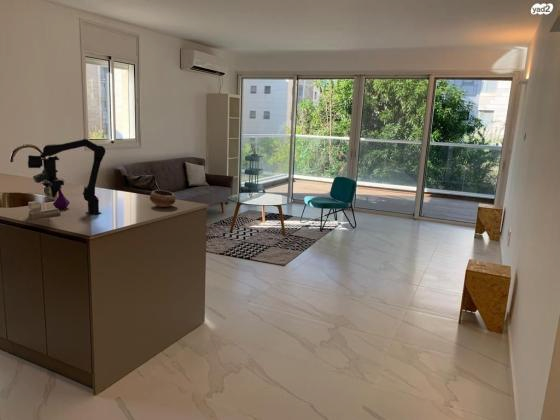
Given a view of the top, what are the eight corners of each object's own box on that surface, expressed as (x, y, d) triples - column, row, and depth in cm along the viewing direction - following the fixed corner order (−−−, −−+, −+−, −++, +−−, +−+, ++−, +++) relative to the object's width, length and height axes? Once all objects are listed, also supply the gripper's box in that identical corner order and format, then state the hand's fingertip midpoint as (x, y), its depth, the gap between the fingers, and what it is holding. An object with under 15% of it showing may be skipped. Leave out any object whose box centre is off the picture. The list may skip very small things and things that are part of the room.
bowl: (168, 210, 272) (168, 194, 270) (145, 207, 275) (145, 192, 273) (179, 205, 287) (179, 190, 285) (157, 203, 290) (157, 188, 288)
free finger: (57, 198, 241) (56, 187, 240) (49, 199, 238) (48, 188, 237) (53, 197, 244) (52, 186, 243) (45, 197, 241) (44, 187, 240)
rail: (60, 215, 244) (59, 201, 242) (33, 218, 233) (32, 203, 231) (55, 213, 247) (54, 199, 246) (28, 216, 237) (28, 202, 235)
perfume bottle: (53, 209, 255) (51, 179, 252) (56, 207, 262) (55, 177, 259) (66, 210, 257) (65, 179, 253) (70, 207, 264) (69, 177, 260)
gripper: (27, 166, 238) (28, 195, 241) (42, 171, 226) (43, 200, 229) (48, 166, 246) (49, 193, 249) (63, 169, 235) (65, 198, 238)
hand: (51, 196), depth 241 cm, fingers closed on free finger, 5 cm apart
